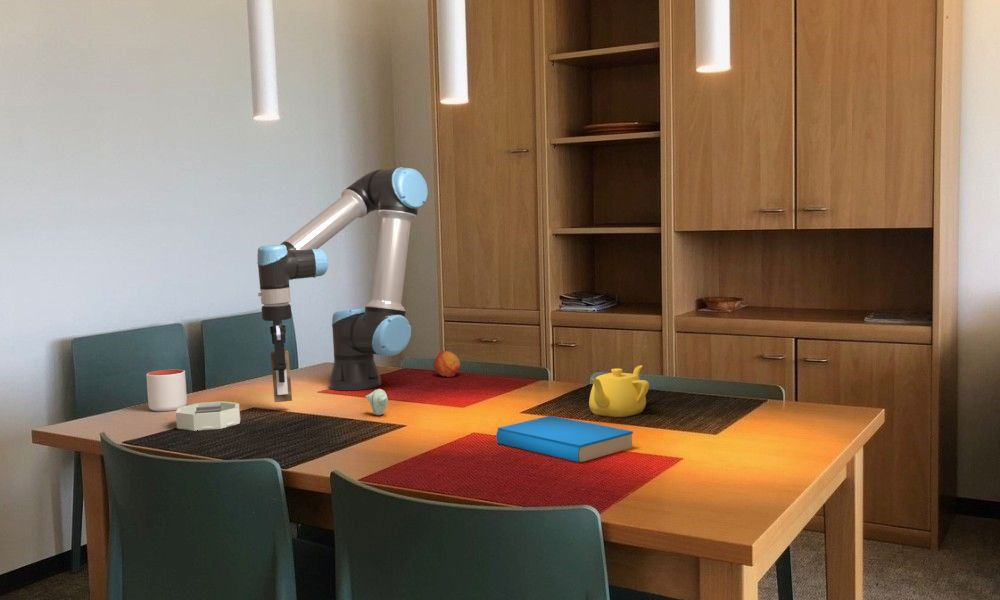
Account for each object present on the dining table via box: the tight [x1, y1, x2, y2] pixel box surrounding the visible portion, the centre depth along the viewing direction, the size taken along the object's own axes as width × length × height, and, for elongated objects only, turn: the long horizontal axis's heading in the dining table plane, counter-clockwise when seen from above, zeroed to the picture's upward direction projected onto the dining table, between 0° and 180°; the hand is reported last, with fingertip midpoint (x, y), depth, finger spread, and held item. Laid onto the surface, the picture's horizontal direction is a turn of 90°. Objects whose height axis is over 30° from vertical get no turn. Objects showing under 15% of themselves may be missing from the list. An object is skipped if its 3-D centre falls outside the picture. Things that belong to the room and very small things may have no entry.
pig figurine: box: [365, 388, 389, 416], centre depth 251 cm, size 8×4×7 cm, turn 43°
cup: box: [146, 368, 188, 412], centre depth 269 cm, size 10×10×10 cm
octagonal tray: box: [175, 400, 241, 432], centre depth 248 cm, size 15×15×4 cm
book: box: [495, 415, 634, 463], centre depth 213 cm, size 17×4×25 cm
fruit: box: [433, 350, 461, 378], centre depth 305 cm, size 8×8×8 cm
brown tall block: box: [270, 350, 293, 403], centre depth 259 cm, size 4×2×13 cm, turn 104°
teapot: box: [588, 365, 650, 418], centre depth 244 cm, size 22×16×11 cm
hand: (282, 392), depth 260 cm, fingers closed on brown tall block, 2 cm apart
